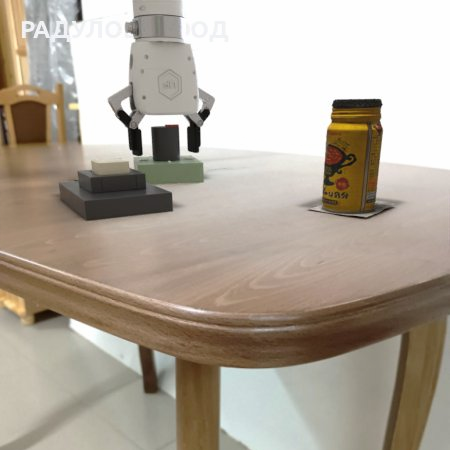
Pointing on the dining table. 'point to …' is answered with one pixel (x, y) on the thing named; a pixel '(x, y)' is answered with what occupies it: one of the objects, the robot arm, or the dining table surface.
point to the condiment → (353, 158)
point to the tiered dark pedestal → (114, 195)
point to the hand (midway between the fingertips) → (166, 153)
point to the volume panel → (170, 170)
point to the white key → (110, 166)
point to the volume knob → (165, 143)
